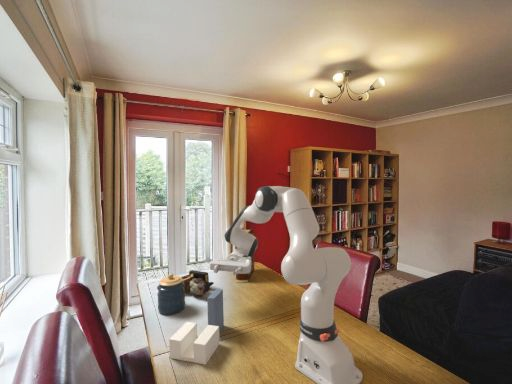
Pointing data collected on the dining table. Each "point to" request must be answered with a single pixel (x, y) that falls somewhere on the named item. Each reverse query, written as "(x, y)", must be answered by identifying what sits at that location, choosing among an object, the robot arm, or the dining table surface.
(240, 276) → the decorative book
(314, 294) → the robot arm
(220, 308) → the slim book
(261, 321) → the dining table surface
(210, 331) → the book stand
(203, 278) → the bookend
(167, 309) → the canister
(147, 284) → the dining table surface
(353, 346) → the dining table surface
